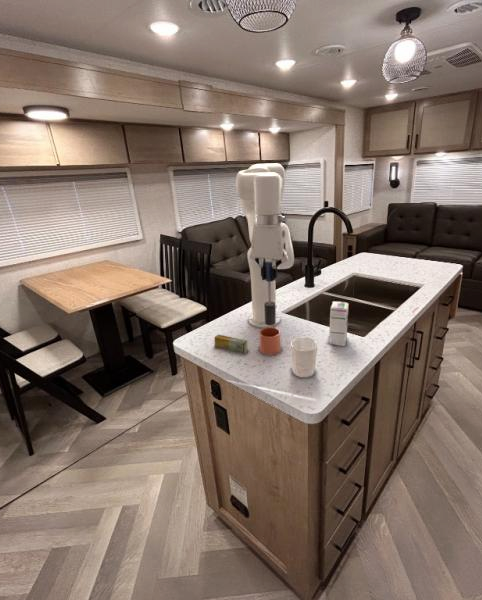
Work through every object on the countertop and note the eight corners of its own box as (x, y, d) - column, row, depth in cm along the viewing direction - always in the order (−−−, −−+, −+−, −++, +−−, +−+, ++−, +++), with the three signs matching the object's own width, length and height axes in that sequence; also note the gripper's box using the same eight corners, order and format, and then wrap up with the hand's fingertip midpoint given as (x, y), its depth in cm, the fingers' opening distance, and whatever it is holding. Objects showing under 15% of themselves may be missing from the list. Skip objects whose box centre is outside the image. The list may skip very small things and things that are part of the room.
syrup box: (345, 346, 112) (348, 308, 106) (328, 344, 114) (330, 307, 108) (346, 338, 117) (349, 302, 111) (330, 336, 119) (332, 300, 113)
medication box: (248, 351, 110) (248, 340, 109) (244, 354, 108) (244, 343, 107) (218, 343, 115) (217, 333, 113) (213, 347, 112) (213, 336, 111)
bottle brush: (267, 319, 109) (265, 260, 100) (277, 321, 108) (276, 261, 99) (263, 324, 106) (261, 263, 97) (273, 326, 105) (272, 264, 96)
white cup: (314, 363, 103) (315, 336, 99) (318, 379, 95) (319, 350, 91) (289, 364, 102) (289, 337, 98) (291, 379, 95) (292, 351, 91)
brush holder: (264, 343, 115) (263, 325, 112) (283, 346, 113) (283, 328, 110) (256, 353, 109) (256, 335, 106) (276, 357, 106) (276, 338, 104)
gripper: (297, 218, 94) (297, 278, 101) (248, 216, 99) (250, 273, 106) (290, 223, 87) (290, 286, 95) (237, 220, 93) (241, 280, 100)
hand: (269, 278), depth 101 cm, fingers closed on bottle brush, 2 cm apart
